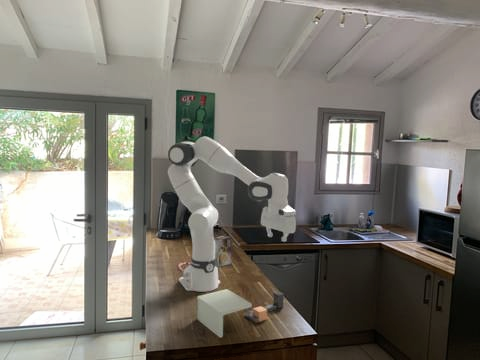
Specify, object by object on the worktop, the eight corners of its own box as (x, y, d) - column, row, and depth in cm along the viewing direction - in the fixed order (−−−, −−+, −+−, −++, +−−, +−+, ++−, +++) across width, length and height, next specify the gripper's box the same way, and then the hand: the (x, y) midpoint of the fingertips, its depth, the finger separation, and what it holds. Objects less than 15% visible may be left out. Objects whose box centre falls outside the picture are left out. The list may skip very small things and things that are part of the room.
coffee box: (224, 261, 216) (225, 235, 214) (231, 264, 211) (231, 237, 209) (212, 264, 210) (212, 237, 209) (218, 267, 205) (218, 239, 204)
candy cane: (177, 270, 195) (178, 262, 210) (177, 273, 195) (178, 264, 210) (191, 270, 196) (191, 261, 211) (191, 272, 196) (191, 264, 211)
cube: (252, 318, 144) (253, 308, 144) (260, 315, 146) (260, 306, 146) (258, 322, 141) (259, 312, 141) (266, 319, 143) (267, 309, 143)
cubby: (196, 318, 142) (197, 296, 141) (226, 310, 150) (226, 289, 149) (220, 337, 128) (220, 312, 128) (251, 327, 137) (251, 303, 136)
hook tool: (244, 315, 146) (244, 301, 145) (278, 304, 157) (278, 291, 156) (255, 323, 140) (256, 308, 139) (290, 311, 150) (290, 297, 150)
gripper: (258, 206, 169) (257, 235, 170) (288, 213, 152) (286, 244, 154) (268, 205, 173) (267, 233, 174) (298, 211, 156) (297, 243, 157)
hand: (276, 238), depth 164 cm, fingers open, 8 cm apart
